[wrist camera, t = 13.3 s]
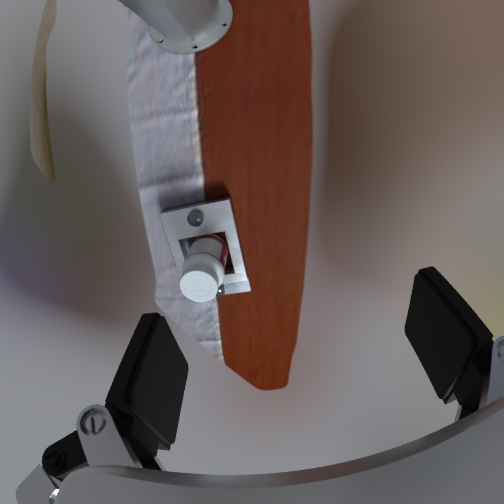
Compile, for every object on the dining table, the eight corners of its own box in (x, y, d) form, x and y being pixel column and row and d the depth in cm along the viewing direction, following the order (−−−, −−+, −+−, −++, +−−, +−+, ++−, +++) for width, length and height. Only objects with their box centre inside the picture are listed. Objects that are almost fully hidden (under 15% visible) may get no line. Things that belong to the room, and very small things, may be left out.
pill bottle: (222, 268, 47) (215, 310, 37) (188, 259, 46) (172, 298, 36) (232, 238, 44) (227, 275, 34) (196, 227, 43) (180, 261, 33)
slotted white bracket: (164, 209, 42) (158, 215, 39) (230, 195, 41) (228, 201, 38) (192, 295, 49) (189, 305, 47) (250, 286, 49) (250, 297, 46)
